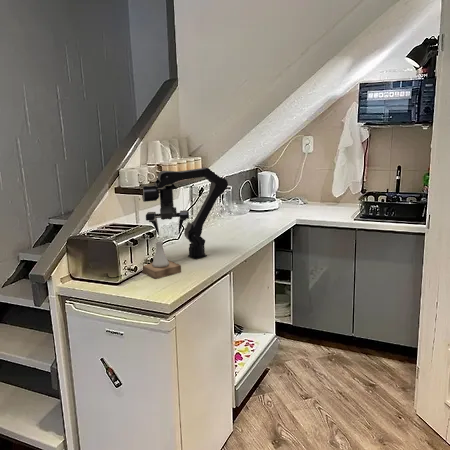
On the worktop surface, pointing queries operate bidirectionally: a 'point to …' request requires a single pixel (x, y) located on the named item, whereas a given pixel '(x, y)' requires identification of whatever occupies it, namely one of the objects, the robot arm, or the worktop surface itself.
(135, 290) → the worktop surface
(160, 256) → the flask
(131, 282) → the worktop surface
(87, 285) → the worktop surface
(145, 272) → the walnut plinth
